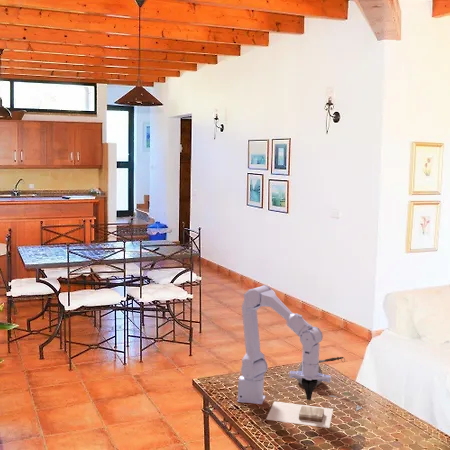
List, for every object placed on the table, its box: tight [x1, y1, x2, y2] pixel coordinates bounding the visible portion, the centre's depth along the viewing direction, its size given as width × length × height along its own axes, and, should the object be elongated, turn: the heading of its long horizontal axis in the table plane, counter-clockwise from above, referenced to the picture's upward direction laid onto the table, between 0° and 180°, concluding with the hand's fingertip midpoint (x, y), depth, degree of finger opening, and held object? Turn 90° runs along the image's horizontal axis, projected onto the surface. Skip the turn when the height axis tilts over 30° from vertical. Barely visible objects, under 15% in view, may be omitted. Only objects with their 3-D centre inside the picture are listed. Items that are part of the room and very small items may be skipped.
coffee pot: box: [295, 356, 346, 387], centre depth 239 cm, size 21×12×15 cm, turn 48°
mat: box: [265, 400, 334, 429], centre depth 213 cm, size 22×16×1 cm
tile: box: [299, 406, 324, 422], centre depth 211 cm, size 2×7×8 cm
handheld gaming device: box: [328, 394, 363, 412], centre depth 223 cm, size 9×1×15 cm
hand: (309, 399), depth 211 cm, fingers closed
